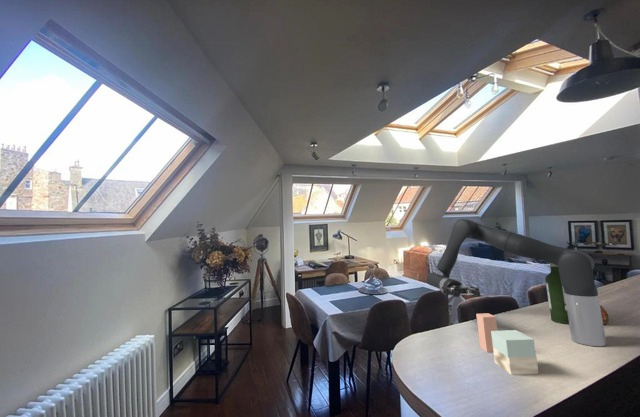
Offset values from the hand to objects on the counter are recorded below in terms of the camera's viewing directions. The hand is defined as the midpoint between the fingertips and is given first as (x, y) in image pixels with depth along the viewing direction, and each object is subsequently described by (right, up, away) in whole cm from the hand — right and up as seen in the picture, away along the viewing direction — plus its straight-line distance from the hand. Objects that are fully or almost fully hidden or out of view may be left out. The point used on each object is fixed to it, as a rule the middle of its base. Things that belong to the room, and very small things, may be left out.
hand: (468, 294), depth 110 cm
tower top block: (0, -9, -26) cm, 28 cm away
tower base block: (0, -14, -27) cm, 30 cm away
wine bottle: (+49, -16, +11) cm, 53 cm away
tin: (+61, -15, +10) cm, 64 cm away
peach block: (+1, -16, -13) cm, 20 cm away
